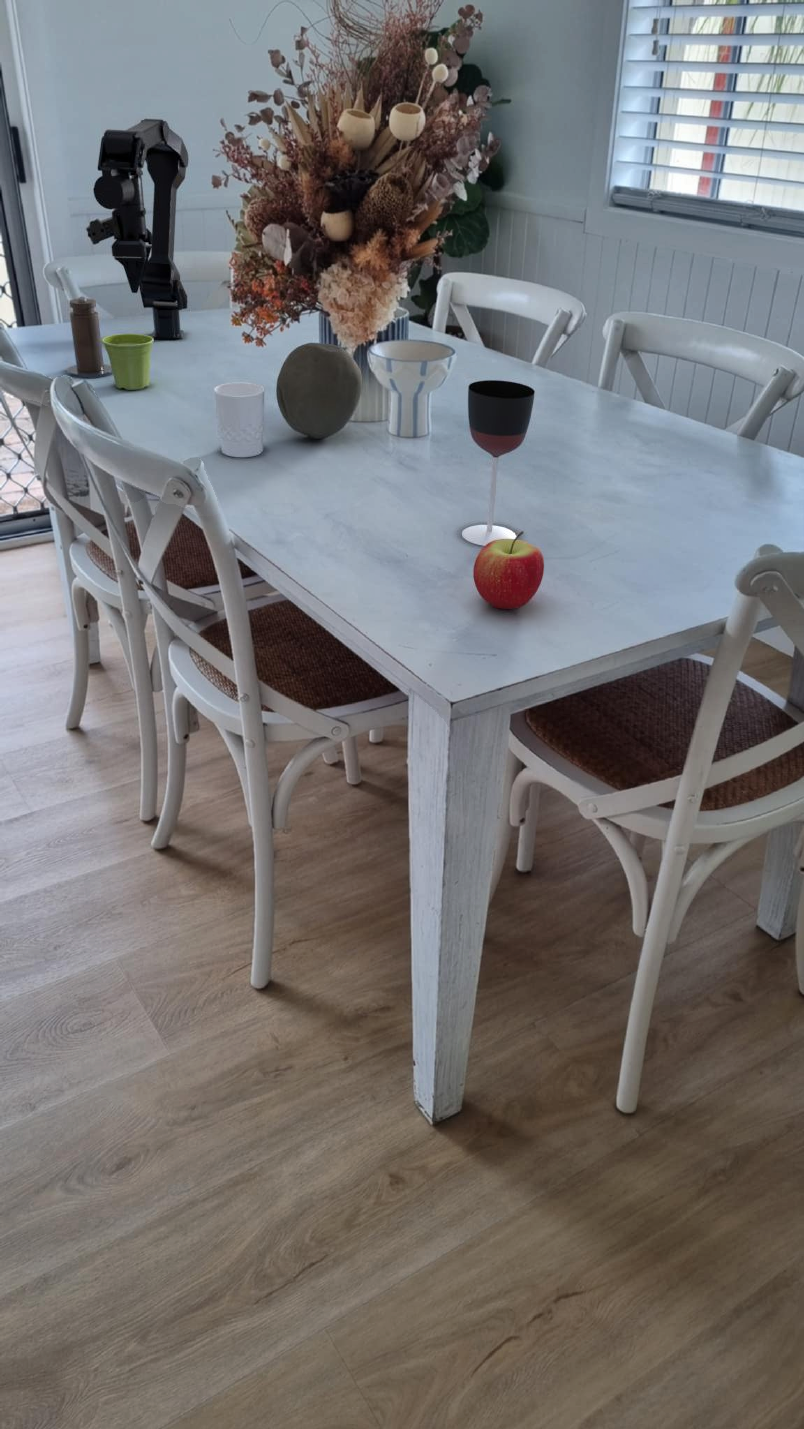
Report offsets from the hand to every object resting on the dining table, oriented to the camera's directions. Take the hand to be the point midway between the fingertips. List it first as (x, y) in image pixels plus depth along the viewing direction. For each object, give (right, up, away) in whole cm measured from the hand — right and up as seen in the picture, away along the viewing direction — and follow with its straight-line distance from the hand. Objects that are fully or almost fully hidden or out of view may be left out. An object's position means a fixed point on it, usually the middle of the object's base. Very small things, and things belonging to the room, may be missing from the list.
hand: (136, 288), depth 215 cm
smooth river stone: (+40, -39, -34) cm, 65 cm away
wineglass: (+66, -62, -68) cm, 113 cm away
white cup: (+28, -44, -42) cm, 67 cm away
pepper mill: (-8, -18, -6) cm, 21 cm away
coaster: (-8, -19, -6) cm, 21 cm away
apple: (+66, -73, -86) cm, 131 cm away
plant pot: (+2, -24, -13) cm, 27 cm away
